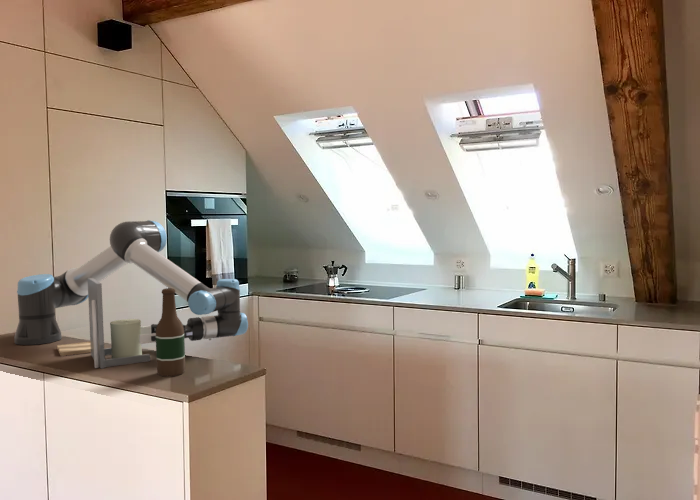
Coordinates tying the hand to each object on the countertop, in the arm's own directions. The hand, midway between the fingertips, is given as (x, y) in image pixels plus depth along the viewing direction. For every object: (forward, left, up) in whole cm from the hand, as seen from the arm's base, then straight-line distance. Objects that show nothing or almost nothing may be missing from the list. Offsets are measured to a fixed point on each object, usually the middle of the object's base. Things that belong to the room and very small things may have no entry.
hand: (134, 335), depth 195 cm
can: (-1, -2, -7) cm, 8 cm away
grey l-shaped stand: (-1, -5, -7) cm, 9 cm away
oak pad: (-22, -13, -7) cm, 26 cm away
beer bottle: (+26, +5, -7) cm, 28 cm away
